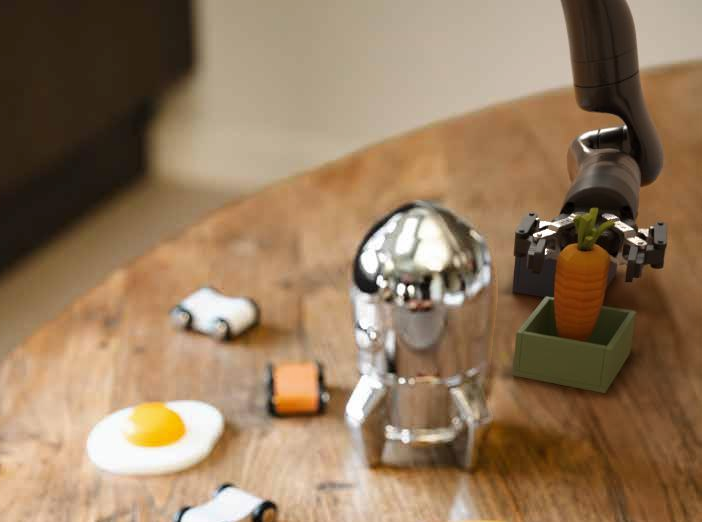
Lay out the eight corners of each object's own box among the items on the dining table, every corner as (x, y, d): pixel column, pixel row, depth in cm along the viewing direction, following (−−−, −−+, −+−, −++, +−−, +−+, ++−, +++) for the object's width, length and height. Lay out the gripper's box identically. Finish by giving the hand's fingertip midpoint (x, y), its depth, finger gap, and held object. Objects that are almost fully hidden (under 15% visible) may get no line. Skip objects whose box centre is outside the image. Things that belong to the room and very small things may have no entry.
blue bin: (616, 274, 137) (621, 235, 134) (593, 305, 130) (598, 265, 127) (537, 262, 140) (541, 223, 137) (512, 292, 134) (515, 252, 131)
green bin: (630, 353, 121) (636, 311, 118) (605, 393, 114) (611, 349, 112) (541, 337, 124) (545, 296, 122) (512, 375, 118) (516, 332, 115)
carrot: (568, 342, 122) (586, 195, 113) (607, 359, 119) (629, 209, 110) (535, 357, 120) (550, 208, 111) (574, 374, 116) (593, 222, 107)
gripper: (533, 167, 124) (509, 223, 111) (677, 176, 120) (668, 235, 108) (527, 238, 128) (503, 299, 116) (665, 249, 125) (655, 313, 112)
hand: (582, 268), depth 112 cm, fingers open, 8 cm apart
